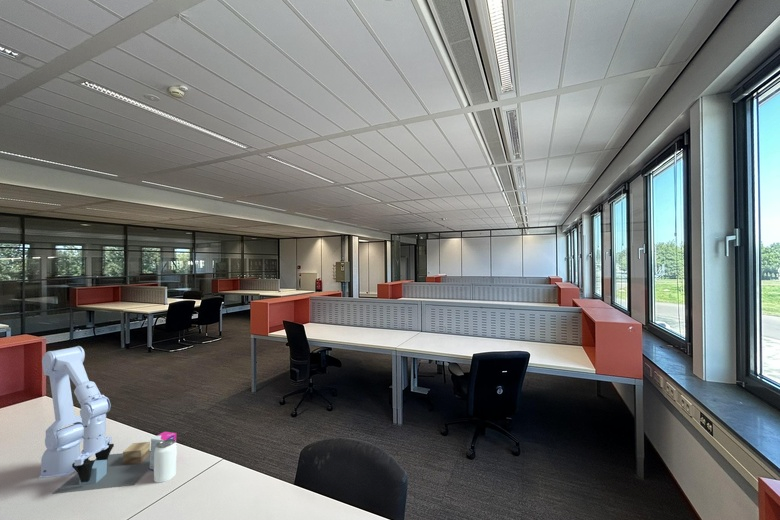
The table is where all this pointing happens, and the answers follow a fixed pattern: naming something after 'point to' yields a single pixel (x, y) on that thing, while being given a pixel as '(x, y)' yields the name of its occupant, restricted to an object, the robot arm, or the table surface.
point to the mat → (110, 476)
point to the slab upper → (136, 450)
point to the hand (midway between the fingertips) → (93, 474)
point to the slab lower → (136, 459)
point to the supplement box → (156, 440)
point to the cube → (97, 472)
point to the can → (165, 460)
